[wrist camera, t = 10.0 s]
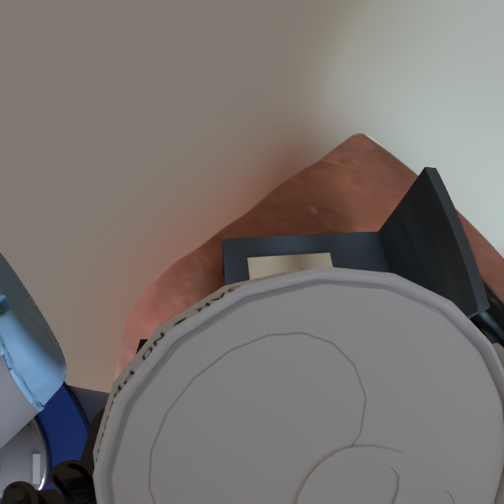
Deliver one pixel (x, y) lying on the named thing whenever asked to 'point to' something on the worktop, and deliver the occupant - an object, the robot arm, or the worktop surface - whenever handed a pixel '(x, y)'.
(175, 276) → the worktop surface
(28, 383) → the robot arm
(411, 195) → the chair
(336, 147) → the worktop surface
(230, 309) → the supplement can
